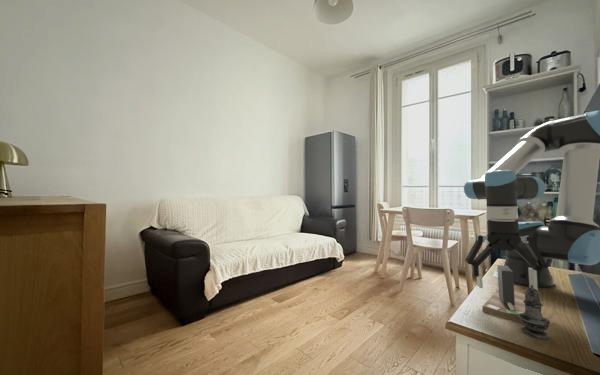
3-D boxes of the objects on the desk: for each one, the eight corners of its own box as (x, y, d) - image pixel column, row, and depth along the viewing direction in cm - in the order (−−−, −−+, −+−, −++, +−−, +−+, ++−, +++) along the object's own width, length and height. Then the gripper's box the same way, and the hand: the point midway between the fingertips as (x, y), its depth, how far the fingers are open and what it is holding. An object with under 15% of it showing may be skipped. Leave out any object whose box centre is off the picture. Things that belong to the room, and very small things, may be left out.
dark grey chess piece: (553, 334, 61) (550, 285, 62) (548, 342, 58) (545, 291, 58) (522, 324, 66) (520, 279, 66) (515, 331, 63) (513, 284, 63)
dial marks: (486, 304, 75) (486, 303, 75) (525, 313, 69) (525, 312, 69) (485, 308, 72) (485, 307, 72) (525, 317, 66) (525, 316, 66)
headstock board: (498, 292, 86) (498, 288, 86) (538, 301, 79) (537, 296, 79) (482, 311, 74) (482, 306, 74) (527, 324, 66) (527, 318, 66)
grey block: (498, 296, 79) (496, 264, 79) (509, 298, 78) (508, 265, 78) (506, 310, 70) (504, 274, 70) (519, 312, 69) (517, 275, 69)
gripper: (459, 220, 77) (462, 289, 76) (562, 221, 69) (567, 298, 68) (453, 218, 84) (456, 281, 83) (545, 218, 76) (549, 288, 75)
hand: (505, 288), depth 76 cm, fingers open, 13 cm apart
